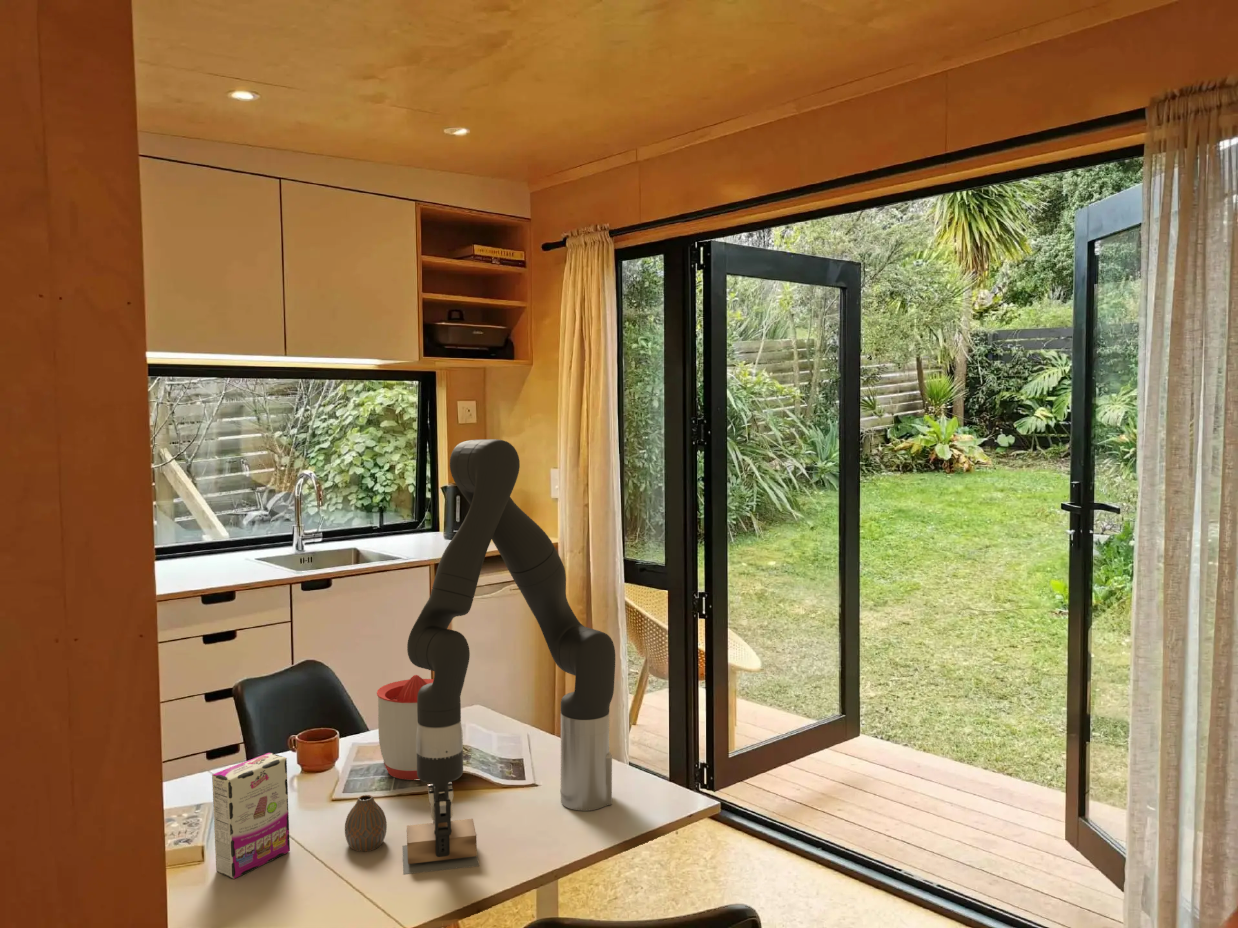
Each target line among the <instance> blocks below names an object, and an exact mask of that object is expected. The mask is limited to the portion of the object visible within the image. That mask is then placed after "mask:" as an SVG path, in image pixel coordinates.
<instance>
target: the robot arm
mask: <svg viewBox="0 0 1238 928" xmlns="http://www.w3.org/2000/svg"><path fill="white" fill-rule="evenodd" d="M449 457H450V458H449V469H450V470H449V471H450V475H451V477H452V478H453V479H452V480H453V481H454V483H455V485H456V486H457V488H458V490H459V492H460V493H461V494H462V495H463V497H464V498H465V500H466V501H467V502H468V504H469V505H470V506H469V509H468V512H467V514H466V516H465V518H464V520H463V522H462V523H461V525H460V527H459V528H458V530H457V531H456V533H455V534H454V536H453V537H452V539H451V540H450V542H449V543H448V545H447V546H446V547H445V550H444V551H443V554H442V556H440V557H441V558H440V559H439V562H438V566H437V569H436V573H435V577H434V580H433V584H432V589H431V591H430V596H429V598H428V599H427V601H426V603H425V604H424V606H423V608H422V610H421V611H420V614H419V615H418V616H417V619H416V621H415V623H414V625H413V626H412V628H411V631H410V632H409V636H408V640H407V646H406V647H407V650H406V651H407V657H408V659H409V661H410V662H411V664H412V665H414V666H415V667H417V668H421V669H425V670H428V671H432V672H434V674H433V675H434V676H433V679H434V680H433V683H429V684H426V685H424V686H422V687H421V688H420V690H419V692H418V696H417V720H418V725H417V734H416V749H417V776H418V778H419V779H420V780H419V781H422V782H423V783H428V784H427V793H428V794H427V795H428V801H429V807H430V818H431V820H432V821H433V822H432V823H434V826H435V830H434V834H435V843H436V856H437V857H444V856H448V855H449V854H450V843H449V835H451V832H452V829H451V821H452V820H451V819H452V818H453V816H454V815H453V814H454V813H453V800H454V799H453V798H454V788H453V783H452V782H453V781H456V780H458V779H460V777H461V776H462V775H463V773H464V741H463V740H464V739H463V736H464V735H463V733H464V732H463V727H462V715H461V714H462V712H461V710H462V706H461V705H462V704H461V697H462V696H461V695H462V691H463V688H464V685H465V679H466V677H467V676H466V675H467V671H468V668H469V663H470V657H471V656H470V655H471V653H470V646H469V643H468V641H467V639H466V637H465V636H464V634H462V633H461V632H459V631H457V630H454V629H453V630H452V629H449V626H450V625H451V622H452V621H453V619H455V618H456V617H462V616H466V615H468V613H470V611H471V608H472V606H473V602H474V599H475V595H476V594H475V593H476V590H477V586H478V582H479V580H480V579H479V578H480V575H481V571H482V568H483V564H484V561H485V557H486V554H487V552H488V549H489V547H490V545H491V544H490V543H491V541H492V542H493V544H494V546H495V548H496V549H497V551H498V553H499V554H500V556H501V559H502V560H503V562H504V564H505V567H506V568H507V571H508V572H509V574H510V575H511V577H512V579H513V581H514V583H515V585H516V587H517V589H518V590H519V591H520V593H521V594H522V597H523V598H524V600H525V601H526V604H527V605H528V607H529V609H530V611H531V613H532V614H533V616H534V618H535V620H536V621H537V624H538V626H539V629H540V630H541V632H542V636H543V637H544V640H545V643H546V645H547V647H548V650H549V652H550V654H551V657H552V659H553V661H554V662H555V665H556V666H557V667H558V668H560V670H561V671H563V672H565V673H566V674H570V675H572V676H575V680H574V690H573V691H571V692H568V693H566V694H565V695H563V696H562V698H561V701H560V793H559V794H560V803H561V806H563V807H566V808H568V809H570V810H575V811H594V810H599V809H601V808H603V807H606V806H610V805H613V757H612V755H613V754H612V753H611V752H610V705H611V702H612V700H613V698H614V693H615V677H616V649H615V644H614V641H613V640H612V638H611V636H610V635H609V634H607V633H606V632H603V631H601V630H597V629H594V628H591V627H586V626H585V625H583V624H582V623H581V622H580V620H579V619H578V618H577V616H576V614H575V613H574V611H573V610H572V608H571V606H570V604H569V602H568V598H567V593H566V592H567V586H566V585H567V577H566V576H567V575H566V569H565V566H564V563H563V561H562V559H561V557H560V555H559V553H558V551H557V549H556V548H555V545H554V544H553V542H552V540H551V539H550V537H549V536H548V535H547V534H548V533H546V531H544V530H543V528H541V526H539V525H538V524H537V523H536V522H535V521H534V520H533V519H532V518H531V517H530V516H529V515H528V514H527V513H525V512H524V511H523V510H522V509H521V508H520V507H519V506H518V505H517V504H516V502H515V501H514V500H513V499H512V497H511V495H512V493H513V491H514V487H515V485H516V483H517V481H518V477H519V475H520V473H519V472H520V468H521V467H520V457H519V453H518V451H517V449H516V448H515V446H513V444H512V443H510V442H508V441H506V440H503V439H498V438H497V439H495V438H494V439H492V438H491V439H470V440H466V441H462V442H459V443H458V444H457V445H456V446H454V448H453V450H452V451H451V455H450V456H449ZM429 783H430V784H429ZM444 822H447V826H444V827H438V824H439V823H444Z"/></svg>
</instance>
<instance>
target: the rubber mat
mask: <svg viewBox="0 0 1238 928" xmlns="http://www.w3.org/2000/svg"><path fill="white" fill-rule="evenodd" d="M474 867H475V868H477V867H480V863H479V858H478V855H477V856H473V857H464V858H455V859H447V860H438V861H430V862H421V863H413V864H408V853H407V844H405V845H402V871H403V873H402V875H410V874H412V875H413V874H419V873H422V874H423V873H428V872H438V871H447V870H456V869H465V868H466V869H467V868H474Z"/></svg>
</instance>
